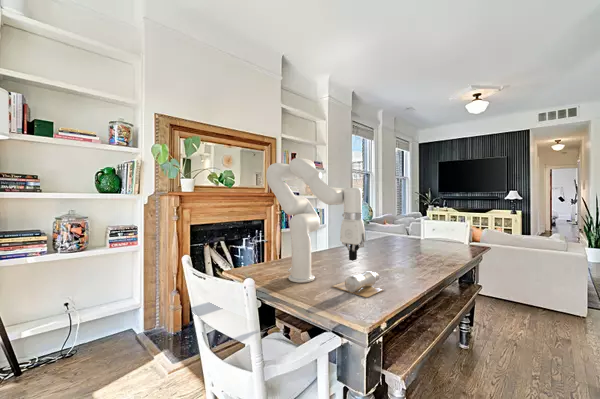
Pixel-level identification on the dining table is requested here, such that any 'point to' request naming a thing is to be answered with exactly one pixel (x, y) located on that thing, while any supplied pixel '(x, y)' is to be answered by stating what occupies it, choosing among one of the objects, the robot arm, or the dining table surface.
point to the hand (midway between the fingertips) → (352, 259)
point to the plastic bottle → (361, 281)
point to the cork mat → (362, 292)
